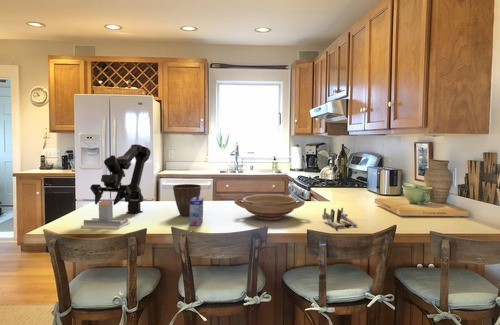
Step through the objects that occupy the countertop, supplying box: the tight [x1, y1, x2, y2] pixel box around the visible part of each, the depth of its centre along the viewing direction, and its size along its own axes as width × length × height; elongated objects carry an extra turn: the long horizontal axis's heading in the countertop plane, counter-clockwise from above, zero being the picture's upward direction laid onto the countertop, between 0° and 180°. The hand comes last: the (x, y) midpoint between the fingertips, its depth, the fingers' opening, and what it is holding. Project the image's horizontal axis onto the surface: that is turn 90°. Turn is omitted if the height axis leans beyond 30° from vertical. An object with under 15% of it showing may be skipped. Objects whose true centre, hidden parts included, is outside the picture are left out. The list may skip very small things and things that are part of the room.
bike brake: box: [321, 207, 357, 232], centre depth 175 cm, size 14×7×20 cm
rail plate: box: [80, 217, 131, 230], centre depth 174 cm, size 11×19×3 cm, turn 82°
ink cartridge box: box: [189, 193, 204, 227], centre depth 178 cm, size 10×6×14 cm, turn 179°
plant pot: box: [172, 183, 202, 217], centre depth 197 cm, size 15×15×16 cm
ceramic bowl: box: [233, 193, 305, 221], centre depth 192 cm, size 37×29×10 cm
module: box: [98, 200, 114, 221], centre depth 174 cm, size 4×4×10 cm
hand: (104, 204), depth 173 cm, fingers open, 9 cm apart
